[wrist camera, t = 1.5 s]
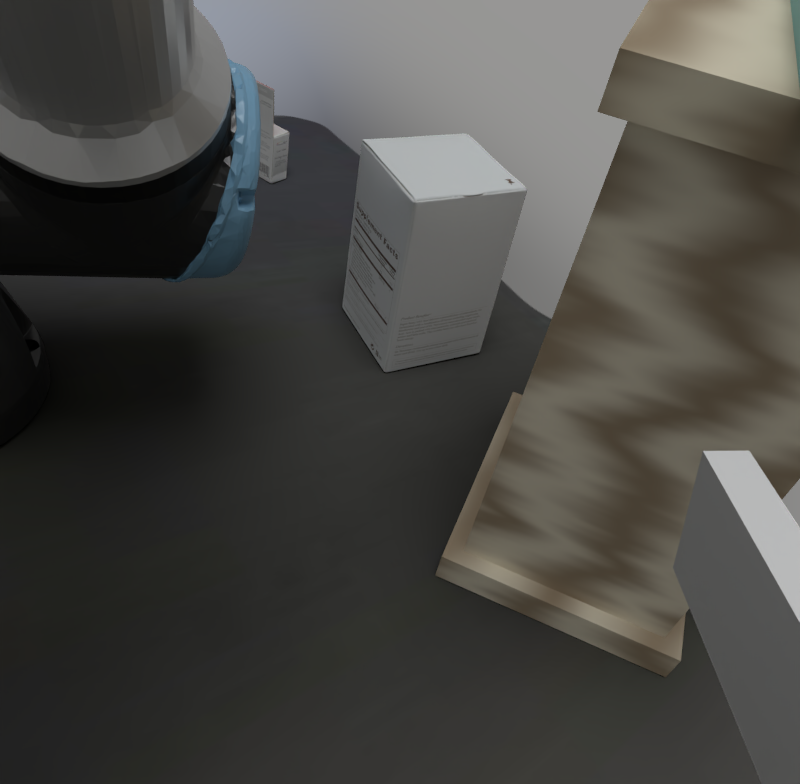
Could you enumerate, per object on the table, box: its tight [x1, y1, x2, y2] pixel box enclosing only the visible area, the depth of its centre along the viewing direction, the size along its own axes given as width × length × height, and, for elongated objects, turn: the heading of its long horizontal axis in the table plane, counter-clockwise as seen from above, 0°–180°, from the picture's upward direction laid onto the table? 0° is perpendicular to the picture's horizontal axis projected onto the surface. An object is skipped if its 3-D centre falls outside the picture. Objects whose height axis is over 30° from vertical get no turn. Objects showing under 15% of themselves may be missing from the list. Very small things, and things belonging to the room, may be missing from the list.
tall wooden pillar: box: [435, 0, 800, 677], centre depth 37 cm, size 14×16×30 cm
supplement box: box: [342, 133, 527, 372], centre depth 54 cm, size 9×9×15 cm
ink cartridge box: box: [256, 81, 289, 184], centre depth 72 cm, size 2×11×10 cm, turn 50°
